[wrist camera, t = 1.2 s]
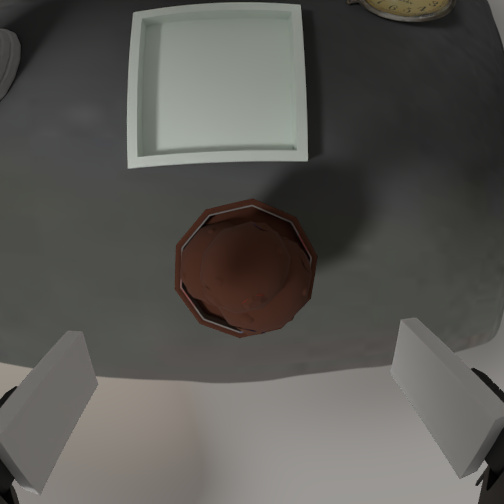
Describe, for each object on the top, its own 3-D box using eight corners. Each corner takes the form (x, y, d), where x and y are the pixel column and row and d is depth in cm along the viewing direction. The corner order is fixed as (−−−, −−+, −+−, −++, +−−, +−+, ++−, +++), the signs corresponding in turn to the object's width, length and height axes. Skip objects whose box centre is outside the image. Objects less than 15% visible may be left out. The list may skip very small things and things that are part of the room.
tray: (135, 168, 30) (127, 168, 28) (139, 21, 26) (133, 12, 24) (302, 161, 31) (307, 161, 29) (296, 14, 27) (300, 4, 25)
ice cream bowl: (168, 251, 33) (125, 313, 18) (238, 168, 31) (243, 168, 17) (245, 311, 35) (254, 401, 21) (315, 236, 33) (372, 287, 19)
